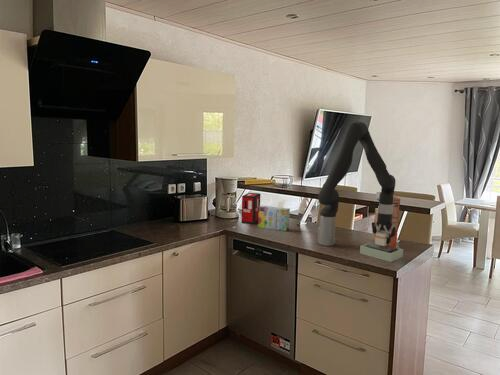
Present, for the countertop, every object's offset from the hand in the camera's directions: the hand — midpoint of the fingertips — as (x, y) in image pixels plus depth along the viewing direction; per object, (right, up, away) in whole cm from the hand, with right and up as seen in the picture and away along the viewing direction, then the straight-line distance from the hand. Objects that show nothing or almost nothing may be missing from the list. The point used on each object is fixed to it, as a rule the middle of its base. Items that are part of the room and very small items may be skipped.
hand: (382, 242), depth 204 cm
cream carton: (0, -1, 0) cm, 1 cm away
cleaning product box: (-71, +5, +76) cm, 104 cm away
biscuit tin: (0, -7, +1) cm, 7 cm away
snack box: (-56, +1, +56) cm, 79 cm away
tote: (-1, -8, +2) cm, 8 cm away
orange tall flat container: (+10, -5, +26) cm, 28 cm away
